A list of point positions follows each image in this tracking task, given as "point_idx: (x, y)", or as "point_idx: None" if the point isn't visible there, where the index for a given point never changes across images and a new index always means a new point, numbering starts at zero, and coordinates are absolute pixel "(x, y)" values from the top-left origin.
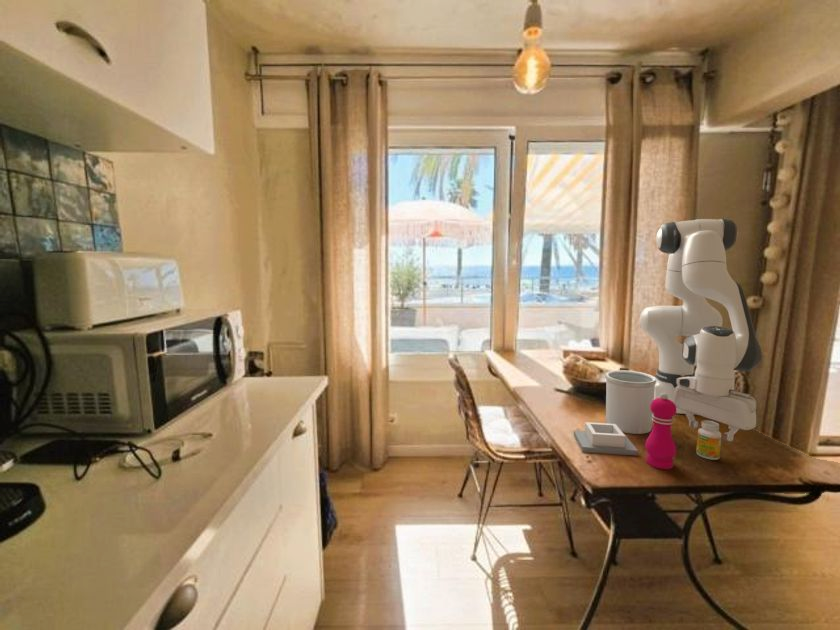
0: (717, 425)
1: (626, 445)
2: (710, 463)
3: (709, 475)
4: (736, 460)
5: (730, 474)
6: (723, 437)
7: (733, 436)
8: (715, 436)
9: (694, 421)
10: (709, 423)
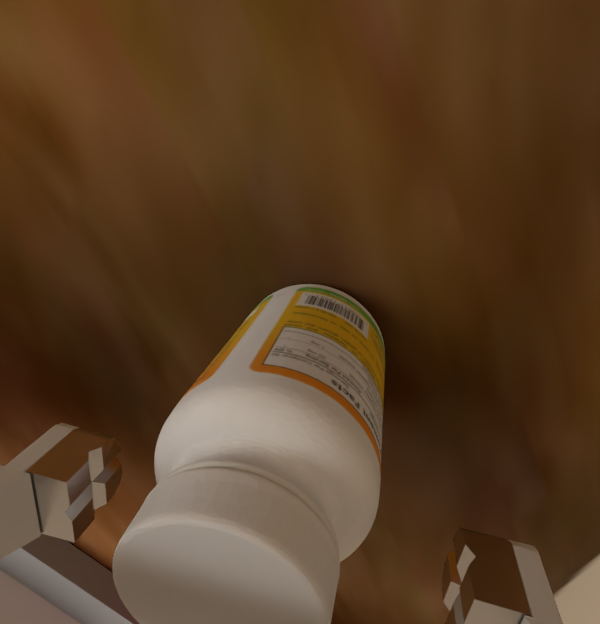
0: None
1: (80, 612)
2: None
3: None
4: (476, 253)
5: (519, 500)
6: (444, 594)
7: (550, 589)
8: (355, 549)
9: (47, 504)
10: (218, 622)
